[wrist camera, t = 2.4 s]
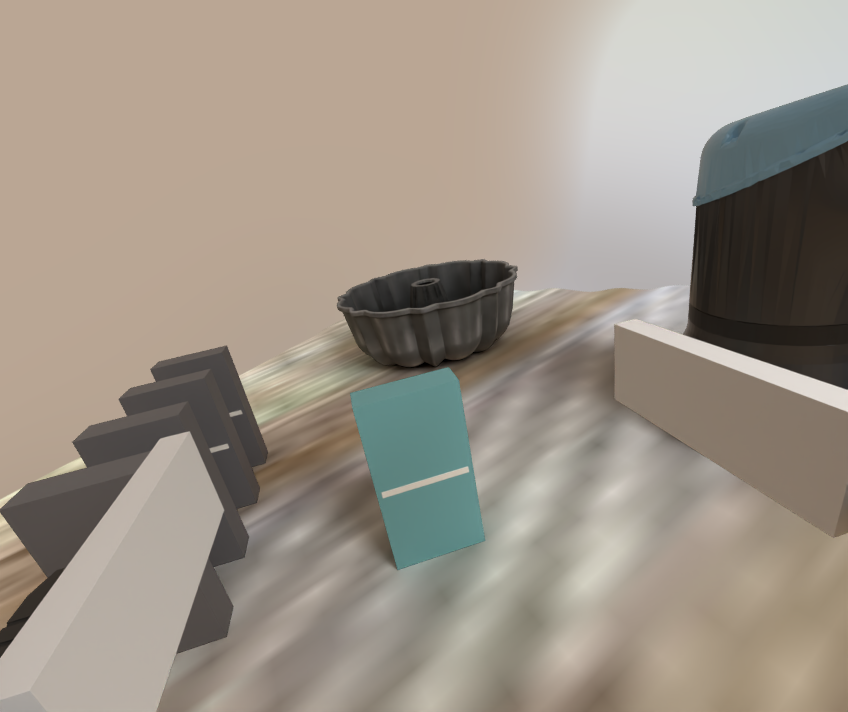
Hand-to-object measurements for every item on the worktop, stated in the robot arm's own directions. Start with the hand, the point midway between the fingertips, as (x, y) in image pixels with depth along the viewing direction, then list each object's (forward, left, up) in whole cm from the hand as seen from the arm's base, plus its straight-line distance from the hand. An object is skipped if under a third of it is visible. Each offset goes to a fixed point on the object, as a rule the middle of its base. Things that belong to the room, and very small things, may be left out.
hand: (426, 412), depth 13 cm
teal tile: (+5, -9, -16) cm, 19 cm away
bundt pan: (+15, -46, -16) cm, 51 cm away
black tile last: (+28, -16, -16) cm, 35 cm away
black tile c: (+25, -11, -16) cm, 31 cm away
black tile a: (+19, 0, -16) cm, 24 cm away
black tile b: (+22, -5, -16) cm, 27 cm away
